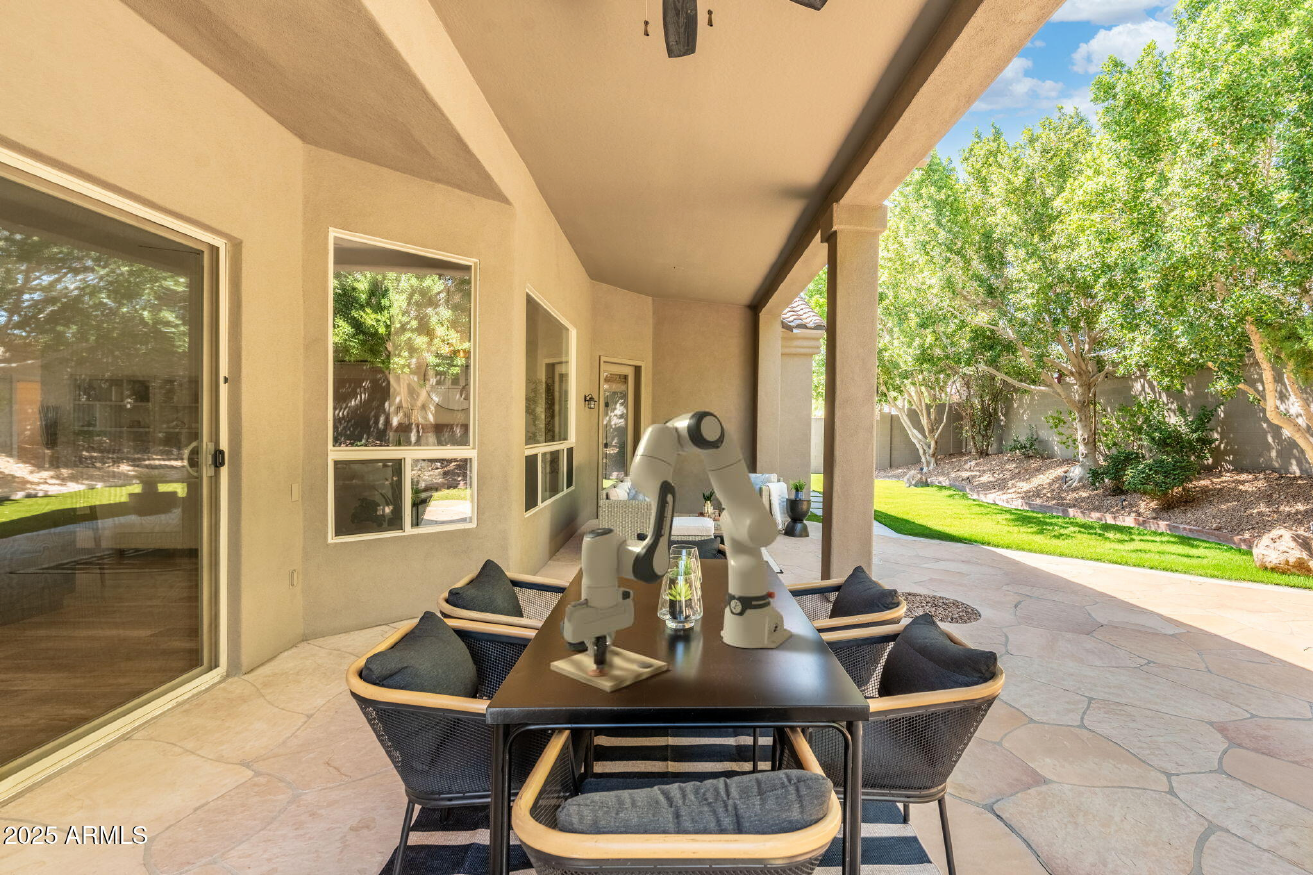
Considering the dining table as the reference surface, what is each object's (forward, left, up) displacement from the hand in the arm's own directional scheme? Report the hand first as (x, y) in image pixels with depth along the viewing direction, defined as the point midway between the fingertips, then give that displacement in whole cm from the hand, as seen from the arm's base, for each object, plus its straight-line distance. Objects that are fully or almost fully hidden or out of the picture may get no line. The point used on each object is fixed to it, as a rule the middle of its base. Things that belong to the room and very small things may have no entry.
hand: (599, 652), depth 155 cm
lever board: (-6, -4, -7) cm, 10 cm away
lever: (-6, -6, -4) cm, 9 cm away
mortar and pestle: (-12, -23, -7) cm, 26 cm away
